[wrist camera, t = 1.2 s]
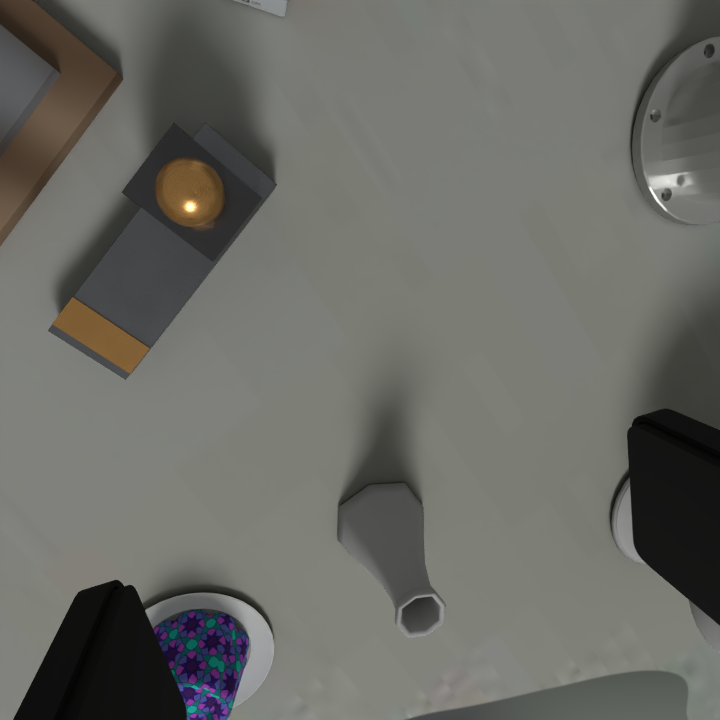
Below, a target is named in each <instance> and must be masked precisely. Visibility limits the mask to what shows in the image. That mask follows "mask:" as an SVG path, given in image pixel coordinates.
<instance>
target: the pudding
mask: <svg viewBox="0 0 720 720" xmlns="http://www.w3.org/2000/svg"><path fill="white" fill-rule="evenodd" d="M191 609H213V610H218V611H222V612H224V613H227V614H229V615H231V616H233V617H234V618H236V619H237V620H238V621H239V622H240V623H242V624H243V626H244V627H245V629H246V630H247V632H248V634H249V637H250V641H251V654H250V658H249V661H248V663H247V665H246V662H247V659H246V654H247V651H248V647H249V637H248V636H247V634H246V632H245V631H242V630H239V629H236V625H235V620H234V619H233V618H231V617H230V616H229V615H226V614H222V613H217V614H213V615H208V614H206V613H205V612H203V611H202V610H191ZM187 610H191V611H188V612H185V613H182V614H181V615H180V616H179V617H178V619H177V620H176V621H164V622H163V623H161V624H159V623H160V622H162V621H163V620H164V619H166V618H168V617H170V616H172V615H174V614H177V613H180V612H183V611H187ZM145 612H146V614H147V616H148V618H149V621H150V623H151V625H152V628H154V627H155V626H156V625H158V624H159V625H158V626H156V627H155V629H154V632H155V635H156V637H157V639H158V641H159V644H160V646H161V648H162V651H163V653H164V655H165V658H166V660H167V662H168V664H169V667H170V669H171V671H172V674H173V676H174V678H175V681H176V683H177V685H178V687H179V690H180V692H181V694H182V697H183V699H184V702H185V706H186V712H187V720H227V718H228V717H229V715H230V714H231V710H232V708H234V707H236V706H237V705H239V704H241V703H242V702H243V701H245V700H246V699H247V698H249V697H250V696H251V695H252V694H253V693H254V692H255V691H256V690H257V689H258V688H259V687H260V685H261V684H262V682H263V681H264V679H265V678H266V676H267V674H268V672H269V670H270V668H271V665H272V661H273V657H274V641H273V635H272V633H271V630H270V628H269V625H268V624H267V622H266V621H265V620H264V618H263V617H262V615H260V614H259V613H258V612H257V611H256V610H255V609H254V608H253V607H251V606H250V605H248V604H246V603H245V602H243V601H241V600H238V599H236V598H233V597H231V596H226V595H222V594H217V593H190V594H185V595H180V596H175V597H172V598H169V599H167V600H164V601H161V602H159V603H157V604H155V605H153V606H152V607H150V608H148V609H146V610H145ZM245 665H246V667H245ZM244 668H245V669H244Z"/></svg>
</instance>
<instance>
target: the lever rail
mask: <svg viewBox="0 0 720 720" xmlns="http://www.w3.org/2000/svg"><path fill="white" fill-rule="evenodd" d="M193 140H195V141H196V142H197V143H198V144H199V145H201V146H202V147H203V148H204V149H205V150H206V151H208V152H209V153H210V154H211V155H212V156H214V157H215V158H216V159H217V160H218V161H219V162H221V163H222V164H223V165H224V166H225V167H226V168H228V169H229V170H230V171H231V172H232V173H234V174H235V175H236V176H237V177H238V178H239V179H241V180H242V181H243V182H244V183H245V184H247V185H248V186H249V187H250V188H251V189H252V190H254V191H255V192H256V193H257V194H258V195H259V196H261V197H262V203H261V205H260V207H261V206H262V204H263V203H264V202H265V201H266V199H267V198H268V197H269V195H270V194H271V193H272V192H273V190H274V189H275V188H276V185H277V184H275V183H274V182H273V181H272V180H271V179H270V178H269V177H267V176H266V175H265V174H264V173H263V172H262V171H261V170H259V169H258V168H257V167H256V166H255V165H254V164H252V163H251V162H250V161H249V160H248V159H247V158H246V157H244V156H243V155H242V154H241V153H240V152H239V151H238V150H236V149H235V148H234V147H233V146H232V145H231V144H229V143H228V142H227V141H226V140H225V139H224V138H223V137H221V136H220V135H219V134H218V133H217V132H216V131H215V130H213V129H212V128H211V127H210V126H209V125H208V124H206V123H204V125H203V126H202V127H201V128H200V130H199V131H198V132H197V134H196V135H195V136H194V138H193ZM260 207H259V208H260ZM259 208H258V209H257V210H256V212H257V211H258V210H259ZM256 212H255V213H256ZM255 213H254V214H253V216H254V215H255ZM253 216H252V217H253ZM252 217H251V218H250V220H251V219H252ZM250 220H249V221H250ZM249 221H248V222H247V223H246V225H247V224H248V223H249ZM246 225H245V226H246ZM245 226H244V227H243V229H244V228H245ZM243 229H242V230H243ZM242 230H241V231H240V232H239V234H240V233H241V232H242ZM239 234H238V235H239ZM238 235H237V236H236V238H237V237H238ZM236 238H235V239H236ZM235 239H234V240H233V241H232V243H233V242H234V241H235ZM232 243H231V244H232ZM231 244H230V245H229V247H230V246H231ZM229 247H228V248H229ZM228 248H227V249H226V250H225V252H226V251H227V250H228ZM225 252H224V253H225ZM224 253H223V254H222V256H223V255H224ZM222 256H221V257H222ZM221 257H220V258H219V259H217V260H216V261H214V262H212V261H211V260H209V259H208V258H207V257H205V256H204V255H203V254H201V253H200V252H199V251H197V250H196V249H195V248H194V247H192V246H191V245H190V244H188V243H187V242H186V241H184V240H183V239H182V238H181V237H179V236H178V235H177V234H175V233H174V232H173V231H171V230H170V229H169V228H167V227H166V226H165V225H164V224H162V223H161V222H160V221H158V220H157V219H156V218H154V217H153V216H152V215H150V214H149V213H148V212H147V211H145V210H144V209H143V208H140V209H139V211H138V212H137V213H136V214H135V216H134V217H133V218H132V220H131V221H130V222H129V224H128V225H127V226H126V228H125V229H124V230H123V232H122V233H121V234H120V236H119V237H118V238H117V240H116V241H115V242H114V244H113V245H112V246H111V248H110V249H109V250H108V252H107V253H106V254H105V255H104V257H103V258H102V259H101V261H100V262H99V263H98V265H97V266H96V267H95V269H94V270H93V271H92V273H91V274H90V275H89V277H88V278H87V279H86V281H85V282H84V283H83V285H82V286H81V287H80V289H79V290H78V291H77V293H76V294H75V295H74V297H72V299H71V300H70V301H69V303H68V304H67V305H66V306H65V308H64V309H63V310H62V312H61V313H60V314H59V316H58V317H57V318H56V320H55V321H54V322H53V324H52V326H51V327H50V328H49V330H48V331H49V332H51V333H52V334H54V335H56V336H57V337H59V338H60V339H62V340H64V341H65V342H67V343H68V344H70V345H71V346H73V347H75V348H76V349H78V350H79V351H81V352H83V353H84V354H86V355H87V356H89V357H90V358H92V359H94V360H95V361H97V362H98V363H100V364H102V365H103V366H105V367H106V368H108V369H110V370H111V371H113V372H114V373H116V374H117V375H119V376H121V377H122V378H124V379H125V380H126V379H127V377H128V376H129V375H130V374H131V373H132V372H133V371H134V370H135V368H136V367H137V366H138V364H139V363H140V362H141V360H142V359H143V358H144V357H145V355H146V354H147V353H148V351H149V350H150V349H151V348H152V346H153V345H154V344H155V342H156V341H157V340H158V339H159V337H160V336H161V335H162V333H163V332H164V331H165V330H166V328H167V327H168V326H169V324H170V323H171V322H172V321H173V319H174V318H175V317H176V315H177V314H178V313H179V311H180V310H181V309H182V308H183V306H184V305H185V304H186V302H187V301H188V300H189V299H190V297H191V296H192V295H193V293H194V292H195V291H196V290H197V288H198V287H199V286H200V284H201V283H202V282H203V281H204V279H205V278H206V277H207V275H208V274H209V273H210V272H211V270H212V269H213V268H214V266H215V265H216V264H217V262H218V261H219V260H220V259H221Z"/></svg>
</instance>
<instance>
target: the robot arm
mask: <svg viewBox="0 0 720 720" xmlns="http://www.w3.org/2000/svg"><path fill="white" fill-rule="evenodd" d="M632 155H633V166H634V170H635V174H636V178H637V182H638V184H639V186H640V189H641V191H642V193H643V195H644V197H645V198H646V199H647V201H648V202H649V204H650V205H651V206H652V207H653V208H654V209H655V210H656V211H657V212H658V213H659V214H661V215H662V216H663V217H665V218H667V219H669V220H671V221H673V222H676V223H681V224H685V225H705V224H713V223H717V222H720V36H716V37H710V38H708V39H705V40H703V41H700V42H698V43H696V44H693V45H691V46H690V47H688V48H686V49H684V50H682V51H681V52H679V53H678V54H676V55H675V56H674V57H673V58H672V59H671V60H669V61H668V62H667V63H666V64H665V65H664V66H663V68H662V69H661V70H660V71H659V72H658V74H657V75H656V76H655V77H654V79H653V81H652V82H651V84H650V86H649V87H648V89H647V91H646V93H645V94H644V97H643V99H642V102H641V104H640V107H639V110H638V112H637V117H636V121H635V125H634V130H633V141H632ZM627 439H628V458H629V476H630V494H631V513H632V531H633V543H634V547H635V550H636V551H637V553H638V555H639V556H640V558H641V559H642V560H643V561H644V562H645V563H646V564H647V565H649V566H650V567H651V568H652V569H653V570H654V571H656V572H657V573H658V574H659V575H660V576H662V577H663V578H664V579H665V580H666V581H667V582H669V583H670V584H671V585H672V586H673V587H675V588H676V589H677V590H678V591H679V592H680V593H682V594H683V595H684V596H685V597H686V598H688V599H689V600H690V601H691V602H692V603H693V604H695V605H696V606H697V607H698V608H699V609H701V610H702V611H703V612H704V613H705V614H706V615H708V616H709V617H710V618H711V619H712V620H714V621H715V622H716V623H717V624H718V625H719V626H720V430H718V429H716V428H713V427H711V426H708V425H706V424H704V423H701V422H699V421H697V420H694V419H692V418H690V417H687V416H685V415H682V414H680V413H678V412H675V411H673V410H670V409H661V410H658V411H654V412H651V413H648V414H645V415H642V416H638V417H637V418H635V419H634V421H633V423H632V427H631V428H629V430H628V434H627ZM13 720H187V712H186V706H185V702H184V699H183V697H182V694H181V692H180V690H179V687H178V685H177V683H176V681H175V678H174V676H173V674H172V671H171V669H170V667H169V664H168V662H167V660H166V658H165V655H164V653H163V651H162V648H161V646H160V644H159V641H158V639H157V637H156V635H155V632H154V630H153V628H152V625H151V623H150V621H149V618H148V616H147V614H146V612H145V609H144V607H143V605H142V602H141V600H140V598H139V595H138V593H137V591H136V589H135V588H134V587H133V586H132V585H128V586H125V587H124V585H123V584H122V583H121V582H120V581H119V580H114V581H110V582H107V583H104V584H101V585H98V586H94V587H91V588H88V589H85V590H82V591H80V592H78V594H77V595H76V596H75V598H74V600H73V602H72V604H71V606H70V608H69V610H68V612H67V614H66V616H65V618H64V620H63V622H62V624H61V626H60V628H59V630H58V632H57V634H56V636H55V638H54V640H53V642H52V644H51V646H50V648H49V650H48V652H47V654H46V656H45V658H44V660H43V662H42V664H41V666H40V668H39V670H38V672H37V674H36V676H35V678H34V680H33V682H32V684H31V686H30V687H29V689H28V691H27V693H26V695H25V697H24V699H23V701H22V703H21V705H20V707H19V709H18V711H17V713H16V715H15V717H14V719H13Z"/></svg>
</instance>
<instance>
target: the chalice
mask: <svg viewBox="0 0 720 720" xmlns="http://www.w3.org/2000/svg"><path fill="white" fill-rule="evenodd" d="M611 527H612V535H613V538H614V541H615V543H616V546H617V548H618V549H619V550H620V551H621V552H622V554H623V555H624V556H625V557H627V558H629V559H630V560H632V561H633V562H637V563H640V564H643V565H647V564H646V563H645V562H644V561H643V560H642V559H641V558H640V556H639V555H638V553H637V551H636V550H635V547H634V543H633V531H632V513H631V494H630V476H629V478H628V479H627V480H626V482H625V483H624V485H623V486H622V488H621V490H620V492H619V494H618V496H617V498H616V501H615V504H614V508H613V511H612V520H611ZM689 603H690V608H691V612H692V615H693V617H694V620H695V622H696V625H697V627H698V629H699V630H700V632H701V634H702V635H703V637H704V639H705V640H706V641H707V642H708V643H709V644H710V645H711V646H712V648H713V649H714V650H715V651H716V652H717V653H718V654H720V626H719V625H718V624H717V623H716V622H715V621H714V620H712V619H711V618H710V617H709V616H708V615H706V614H705V613H704V612H703V611H702V610H701V609H699V608H698V607H697V606H696V605H695V604H693V603H692V602H691V601H690V600H689Z"/></svg>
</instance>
